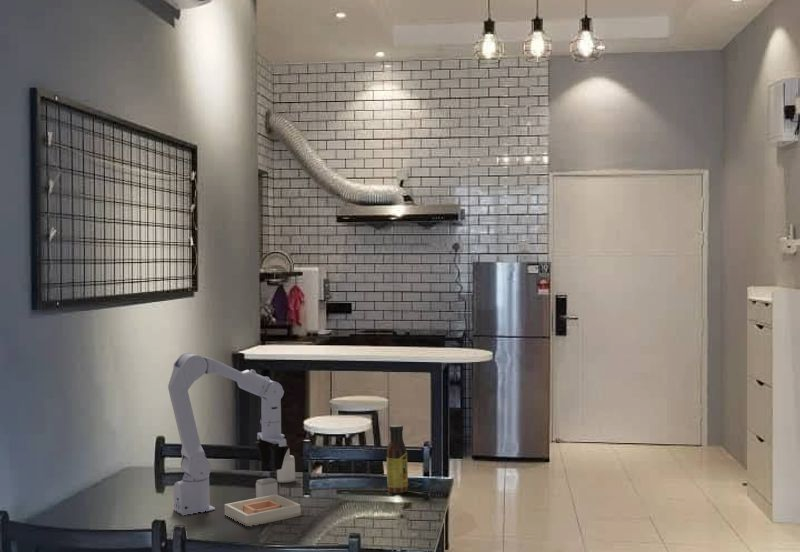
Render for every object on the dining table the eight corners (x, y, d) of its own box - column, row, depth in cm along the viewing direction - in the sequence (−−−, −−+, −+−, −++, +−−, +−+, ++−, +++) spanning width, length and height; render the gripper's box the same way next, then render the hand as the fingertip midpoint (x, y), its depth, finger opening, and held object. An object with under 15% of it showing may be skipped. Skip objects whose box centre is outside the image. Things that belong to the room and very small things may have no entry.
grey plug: (262, 503, 242) (261, 482, 242) (256, 500, 245) (255, 480, 245) (277, 500, 245) (277, 480, 245) (271, 497, 248) (271, 477, 248)
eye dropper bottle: (291, 483, 264) (290, 445, 264) (275, 482, 265) (274, 444, 265) (297, 480, 268) (296, 442, 268) (280, 479, 270) (280, 442, 269)
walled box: (247, 527, 219) (246, 515, 219) (224, 515, 231) (224, 504, 231) (300, 515, 229) (300, 504, 229) (276, 504, 240) (276, 494, 240)
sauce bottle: (407, 494, 248) (406, 427, 248) (386, 494, 249) (385, 427, 248) (408, 488, 255) (406, 423, 255) (387, 488, 255) (386, 423, 255)
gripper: (295, 422, 244) (295, 469, 244) (271, 416, 256) (272, 460, 256) (273, 425, 240) (274, 473, 240) (250, 419, 251) (251, 464, 251)
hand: (271, 467), depth 247 cm, fingers open, 7 cm apart
